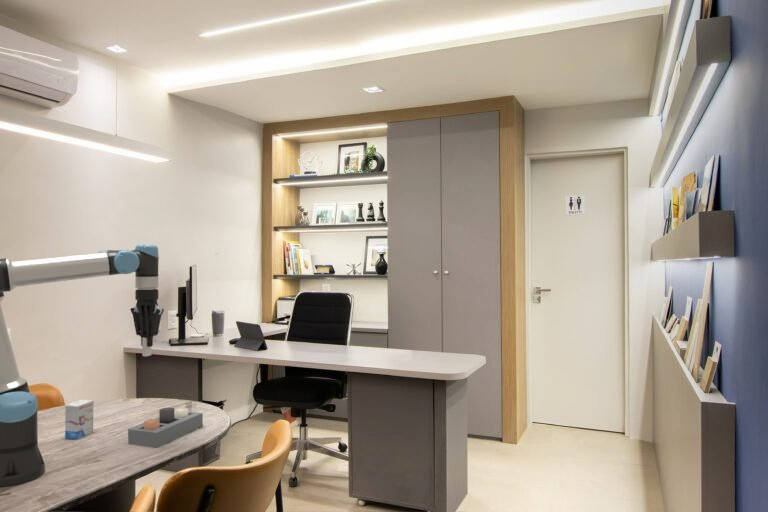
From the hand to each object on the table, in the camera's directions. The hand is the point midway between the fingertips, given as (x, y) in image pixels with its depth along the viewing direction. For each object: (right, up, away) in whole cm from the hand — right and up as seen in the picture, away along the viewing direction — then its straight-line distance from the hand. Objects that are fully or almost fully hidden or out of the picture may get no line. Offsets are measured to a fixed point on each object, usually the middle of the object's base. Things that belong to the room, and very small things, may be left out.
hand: (146, 355), depth 199 cm
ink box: (-25, -29, +3) cm, 39 cm away
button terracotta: (+4, -28, -4) cm, 28 cm away
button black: (+6, -26, +3) cm, 27 cm away
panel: (+6, -29, +3) cm, 29 cm away
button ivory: (+9, -28, +10) cm, 31 cm away
